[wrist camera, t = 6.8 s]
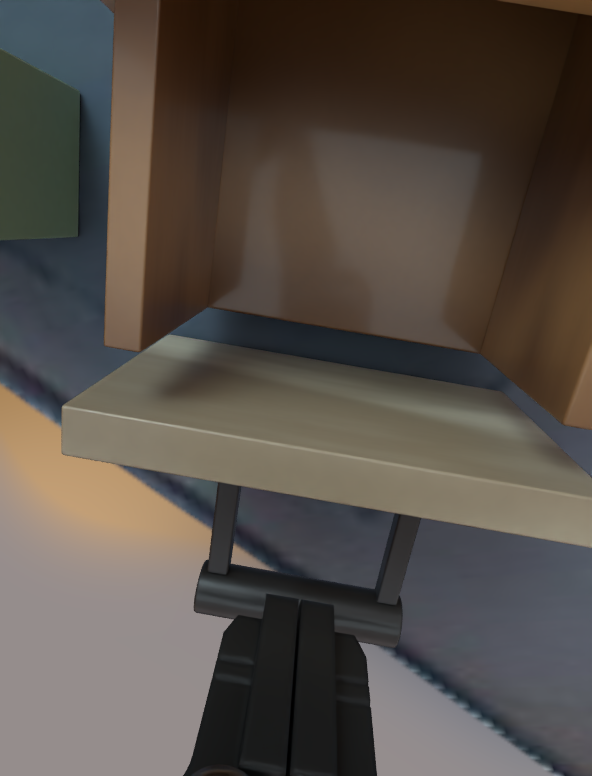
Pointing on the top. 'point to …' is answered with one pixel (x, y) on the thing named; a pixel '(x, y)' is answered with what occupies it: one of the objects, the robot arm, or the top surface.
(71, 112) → the block
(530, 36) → the drawer
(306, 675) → the robot arm
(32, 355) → the top surface
